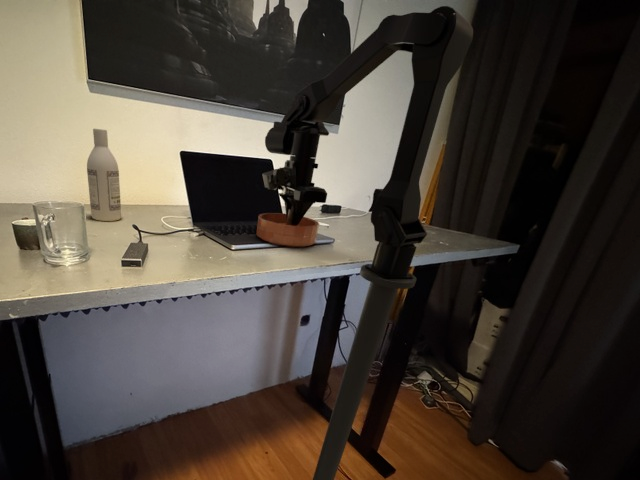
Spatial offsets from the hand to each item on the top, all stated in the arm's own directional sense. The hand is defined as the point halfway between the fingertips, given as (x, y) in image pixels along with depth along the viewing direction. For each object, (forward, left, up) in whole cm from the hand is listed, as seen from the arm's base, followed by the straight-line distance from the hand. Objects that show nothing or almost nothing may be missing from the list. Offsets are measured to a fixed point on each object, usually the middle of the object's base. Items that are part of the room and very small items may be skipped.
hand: (291, 226), depth 79 cm
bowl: (0, +1, -3) cm, 3 cm away
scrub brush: (0, 0, -2) cm, 3 cm away
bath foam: (+14, +44, -4) cm, 46 cm away
